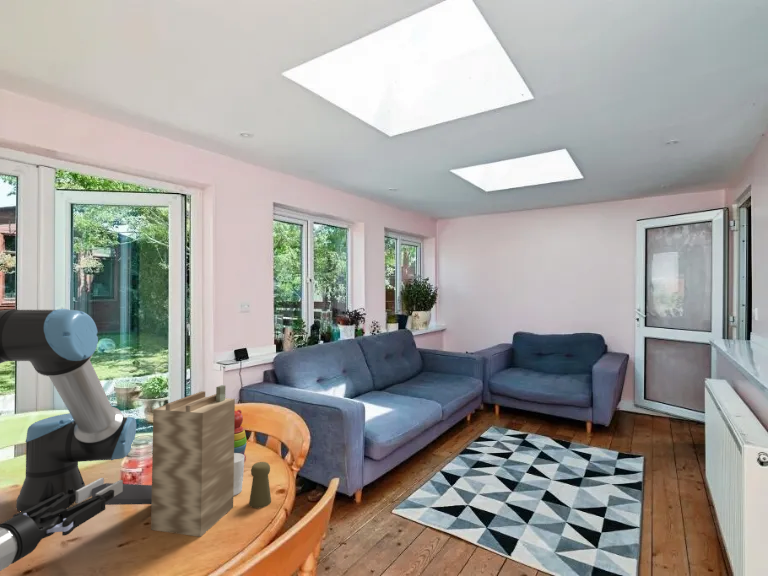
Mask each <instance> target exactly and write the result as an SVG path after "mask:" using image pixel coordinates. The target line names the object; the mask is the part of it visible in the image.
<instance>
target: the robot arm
mask: <svg viewBox="0 0 768 576" xmlns="http://www.w3.org/2000/svg"><path fill="white" fill-rule="evenodd" d="M98 333H99V332H98V328H97V325H96V322H95V320H94V319H93V318H92V317H91V316H90V315H89V314H88V313H86V312H84V311H82V310H77V309H67V308H59V309H17V308H16V309H14V308H13V309H12V308H11V309H10V308H9V309H4V310H3V309H2V310H0V364H2V363H3V364H4V363H5V362H30V363H31V365H32V366H33V368H34V370H35V372H37V373H38V374H39V375H41V376H45V377H49V379H50V381H51V383H52V385H53V386H54V388H55V389H56V391H57V393H58V395H59V397H60V399H61V400H62V402H63V403H64V405H65V407H66V409H67V411H68V413H63V414H58V415H53V416H50V417H47V418H43V419H40V420H38V421H35V422H34V423H32V424H30V425H29V427H28V428H27V430H26V438H25V478H24V481H23V483H22V486H21V487H20V491H19V494H18V495H17V498H16V503H15V506H16V508H17V509H16V510H17V512H18V513H15V514H13V515H12V518H9V519H7V520H5V521H3V522H1V523H0V572H1V571H2V570H4V569H5V568H8V567H9V566H10V565H12V564H14V563H16V562H17V561H20V560H21V559H23V558H24V557H26V556H28V555H30V554H31V553H33V551H34V550H36V548H37V547H38V545H39V544H40V542H41V541H42V540H43V539H46V538H48V537H51V536H53V535H54V534H55V533H58V532H59V533H60V532H62V536H63V537H65V536H68V535H70V534H71V532H73V531H74V530H75V529H76V528H77V527H79V526H82V524H85V523H86V522H88V521H89V520H91V519H92V518H94V517H95V516H97V515H99V514H101V513H102V512H104V511H105V510H106V505H105V502H106V501H108V500H110V499H111V498H113V497H114V496H116V495H118V494H119V493H121V492H123V484H124V480H122V479H119V480H117V481H116V482H113V483H114V484H112V485H110V486H108V487H107V488H105V489H103V490H101V491H99V492H98V493H96V496H95V497H92V489H93V488H95V487H98V486H100V485H103V484H105V482H104V481H105V479H104V478H105V477H100V478H98V479H96V480H95V481H92V482H90V483H88V484H85V481H84V480H83V479H84V478H83V476H82V474H81V471H80V469H79V463H80V462H97V461H114V460H122V459H124V458H126V457H127V456H128V455H129V454H130V452H131V450H132V448H131V444H132V442H133V440H134V441H135V438H136V433H137V421H136V418H135V417H134V416H133V417H132V416H127V417H124V415H123V413H122V411H121V410H120V409H119V408H117V407H114V406H112V405H111V402H110V400H109V398H108V396H107V393H106V392H105V390H104V387H103V385H102V382H101V381H100V379H99V377H98V374H97V372H96V370H95V368H94V366H93V364H92V361H91V358H92V357H93V354H94V353H95V352H96V350H97V347H98V343H99V342H98V341H99V337H98V336H97V335H98ZM133 443H134V442H133ZM130 449H131V450H130ZM128 453H129V454H128ZM73 504H74V505H73ZM20 511H21V512H20Z"/></svg>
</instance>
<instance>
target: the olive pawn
mask: <svg viewBox="0 0 768 576" xmlns="http://www.w3.org/2000/svg"><path fill="white" fill-rule="evenodd" d="M270 472H271V466H270V464H269V463H268V462H266V461H259V462H256V463H254V464H253V465H252V466H251V470H250V473H251V476H252V480H251V482H252V483H251V489H250V497H249V502H248V506H249V507H250V508H252V509H262V508H265V507H268V506H269V505H270V504H271V503H272V497H271V487H270V481H269V475H270Z"/></svg>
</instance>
